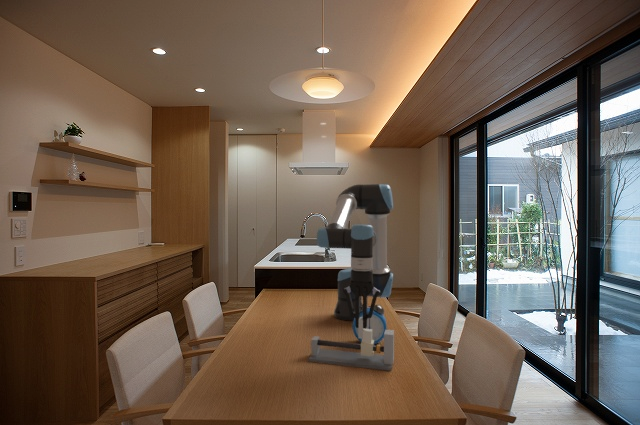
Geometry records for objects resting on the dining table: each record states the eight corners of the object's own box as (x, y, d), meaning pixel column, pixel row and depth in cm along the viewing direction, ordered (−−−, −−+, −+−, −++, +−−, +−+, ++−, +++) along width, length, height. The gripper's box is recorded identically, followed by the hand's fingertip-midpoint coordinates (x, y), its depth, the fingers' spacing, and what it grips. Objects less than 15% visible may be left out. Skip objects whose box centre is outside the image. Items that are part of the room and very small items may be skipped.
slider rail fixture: (316, 350, 139) (316, 321, 139) (394, 359, 131) (394, 328, 131) (308, 361, 129) (308, 329, 129) (392, 371, 122) (392, 337, 122)
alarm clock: (352, 344, 146) (352, 306, 145) (353, 338, 152) (353, 302, 151) (386, 346, 144) (386, 307, 143) (386, 340, 150) (386, 303, 149)
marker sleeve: (362, 350, 131) (362, 327, 131) (373, 351, 130) (374, 328, 130) (360, 355, 127) (360, 331, 127) (372, 356, 126) (372, 332, 126)
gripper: (341, 270, 127) (340, 339, 127) (379, 271, 124) (378, 342, 124) (345, 266, 134) (344, 332, 135) (381, 268, 131) (381, 335, 131)
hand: (361, 337), depth 129 cm, fingers closed
